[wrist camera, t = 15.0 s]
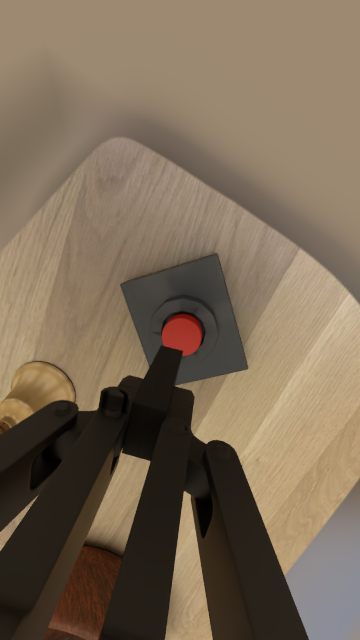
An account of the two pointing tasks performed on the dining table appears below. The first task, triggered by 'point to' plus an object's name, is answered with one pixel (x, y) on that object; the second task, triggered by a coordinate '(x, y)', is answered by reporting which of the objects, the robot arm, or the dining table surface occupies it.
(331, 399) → the dining table surface
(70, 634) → the wooden bowl
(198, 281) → the push button switch
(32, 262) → the dining table surface
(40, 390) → the hand bell
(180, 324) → the button
